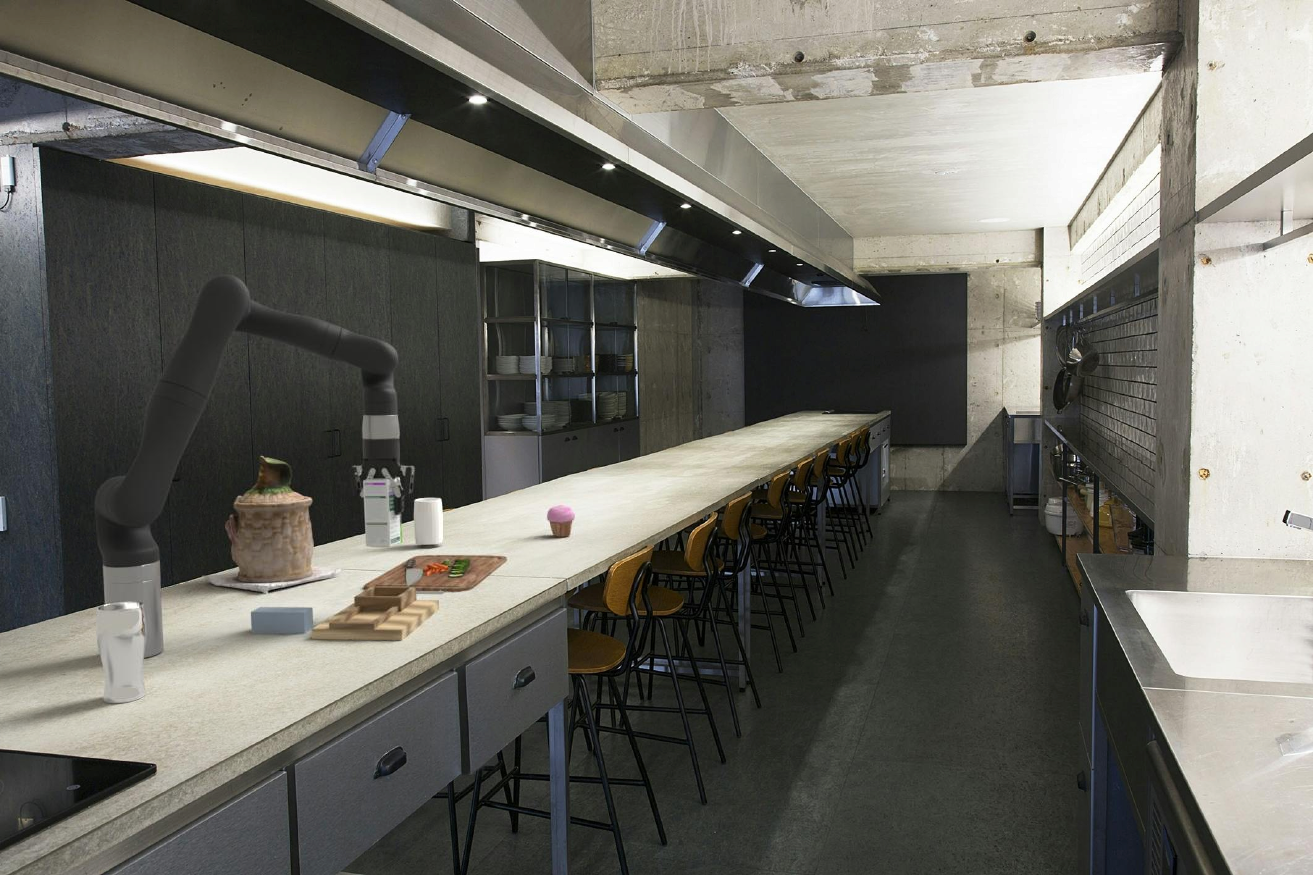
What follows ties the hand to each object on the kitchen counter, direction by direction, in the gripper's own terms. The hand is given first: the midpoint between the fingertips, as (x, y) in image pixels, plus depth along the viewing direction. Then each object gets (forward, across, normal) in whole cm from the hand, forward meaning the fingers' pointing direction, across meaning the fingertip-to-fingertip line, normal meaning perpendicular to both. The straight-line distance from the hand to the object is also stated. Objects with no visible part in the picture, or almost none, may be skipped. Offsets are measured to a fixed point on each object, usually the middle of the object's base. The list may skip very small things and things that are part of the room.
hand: (383, 514), depth 202 cm
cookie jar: (+22, -41, +33) cm, 57 cm away
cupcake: (+22, +21, +98) cm, 103 cm away
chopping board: (+23, -1, +42) cm, 48 cm away
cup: (+22, -16, +80) cm, 85 cm away
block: (+22, -17, -13) cm, 31 cm away
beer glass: (+22, -24, -53) cm, 62 cm away
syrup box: (+7, 0, 0) cm, 7 cm away
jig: (+22, +1, -7) cm, 23 cm away
